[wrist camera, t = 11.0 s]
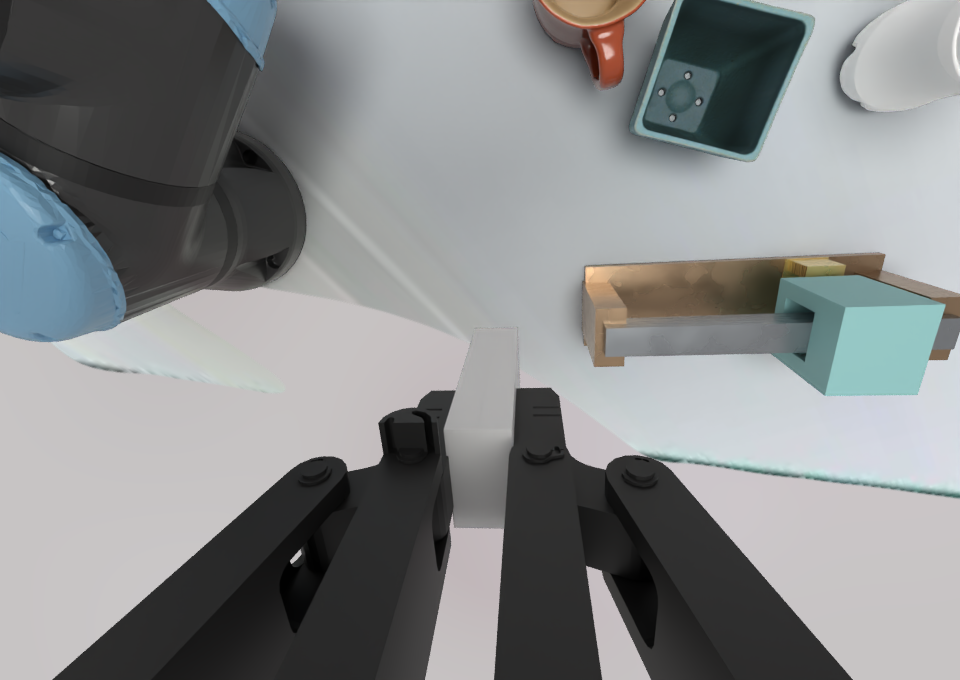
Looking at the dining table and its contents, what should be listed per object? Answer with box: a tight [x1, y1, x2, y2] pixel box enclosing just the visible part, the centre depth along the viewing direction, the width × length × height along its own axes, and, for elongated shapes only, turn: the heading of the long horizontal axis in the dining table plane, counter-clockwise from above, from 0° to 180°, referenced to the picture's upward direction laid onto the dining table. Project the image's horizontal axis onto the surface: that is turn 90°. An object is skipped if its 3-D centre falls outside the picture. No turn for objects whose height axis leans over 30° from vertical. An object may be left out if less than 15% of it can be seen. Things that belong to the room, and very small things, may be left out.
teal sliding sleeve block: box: [771, 275, 946, 396], centre depth 35 cm, size 6×7×8 cm
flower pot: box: [629, 0, 815, 162], centre depth 34 cm, size 9×9×9 cm
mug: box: [533, 0, 646, 91], centre depth 32 cm, size 12×9×10 cm
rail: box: [582, 253, 960, 367], centre depth 39 cm, size 26×8×10 cm, turn 94°
